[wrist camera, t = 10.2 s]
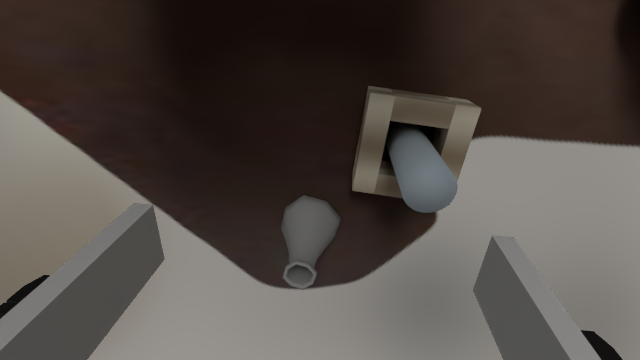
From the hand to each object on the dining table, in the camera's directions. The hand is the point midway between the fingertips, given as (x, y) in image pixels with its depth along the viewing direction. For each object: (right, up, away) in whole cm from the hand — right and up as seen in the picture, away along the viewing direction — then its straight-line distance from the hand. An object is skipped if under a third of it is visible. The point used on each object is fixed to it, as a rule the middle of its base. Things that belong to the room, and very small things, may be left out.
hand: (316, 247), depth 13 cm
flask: (-1, -2, +28) cm, 28 cm away
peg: (+9, +7, +22) cm, 25 cm away
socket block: (+9, +7, +22) cm, 25 cm away
